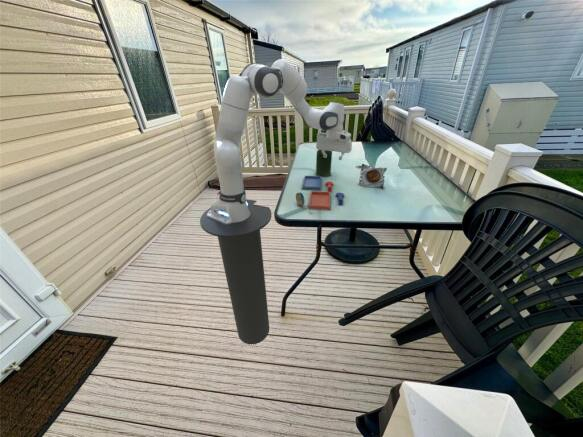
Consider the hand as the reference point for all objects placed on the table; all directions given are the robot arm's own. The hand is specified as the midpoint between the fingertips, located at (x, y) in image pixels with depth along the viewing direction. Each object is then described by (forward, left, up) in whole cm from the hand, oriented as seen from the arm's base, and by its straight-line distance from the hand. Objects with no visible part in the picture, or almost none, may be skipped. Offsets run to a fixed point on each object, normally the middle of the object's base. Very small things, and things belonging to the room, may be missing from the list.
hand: (332, 158), depth 142 cm
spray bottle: (-11, +23, -20) cm, 32 cm away
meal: (+23, +14, -20) cm, 33 cm away
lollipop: (-7, -29, -17) cm, 34 cm away
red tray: (-1, -18, -20) cm, 27 cm away
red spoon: (-1, +1, -20) cm, 20 cm away
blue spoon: (+9, -13, -20) cm, 25 cm away
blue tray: (-13, +4, -20) cm, 24 cm away
